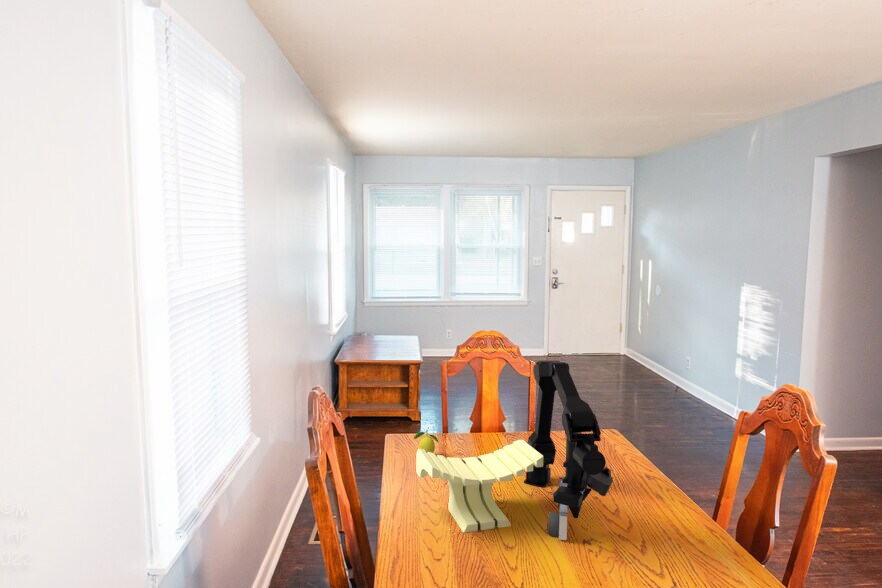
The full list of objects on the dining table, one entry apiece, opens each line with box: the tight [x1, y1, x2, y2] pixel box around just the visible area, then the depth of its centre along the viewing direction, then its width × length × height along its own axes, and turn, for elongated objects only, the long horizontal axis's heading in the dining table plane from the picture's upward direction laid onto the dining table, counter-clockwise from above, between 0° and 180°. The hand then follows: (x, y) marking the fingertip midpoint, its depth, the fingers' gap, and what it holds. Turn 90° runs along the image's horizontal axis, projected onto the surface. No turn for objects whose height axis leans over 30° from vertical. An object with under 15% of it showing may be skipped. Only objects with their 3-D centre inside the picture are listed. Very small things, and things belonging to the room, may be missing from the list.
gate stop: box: [547, 511, 560, 538], centre depth 142 cm, size 3×3×5 cm
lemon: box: [413, 430, 439, 454], centre depth 192 cm, size 7×6×10 cm
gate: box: [558, 483, 568, 541], centre depth 147 cm, size 18×2×7 cm, turn 168°
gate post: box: [557, 476, 568, 509], centre depth 157 cm, size 2×2×8 cm
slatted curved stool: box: [415, 439, 543, 533], centre depth 151 cm, size 30×16×18 cm, turn 107°
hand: (575, 518), depth 143 cm, fingers closed
